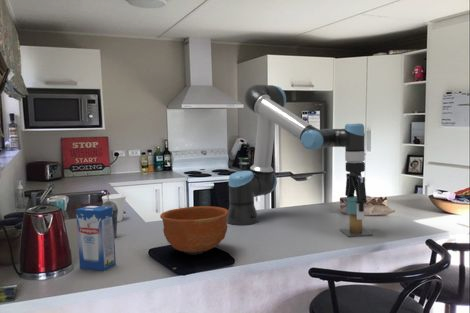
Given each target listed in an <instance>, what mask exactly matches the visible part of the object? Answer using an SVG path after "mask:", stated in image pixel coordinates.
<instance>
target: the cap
mask: <svg viewBox="0 0 470 313" xmlns="http://www.w3.org/2000/svg"><path fill="white" fill-rule="evenodd" d="M356 202H358V201H357V196H355V197H347V196H346V214H348V213H349V214H357V204H356ZM349 214H348V215H349Z"/></svg>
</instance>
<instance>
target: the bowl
mask: <svg viewBox="0 0 470 313" xmlns="http://www.w3.org/2000/svg"><path fill="white" fill-rule="evenodd" d="M228 210H229V209H227V208H225V207H220V206H211V205H210V206H209V205H208V206H205V205H201V206H200V205H199V206H186V207H180V208H173V209H169V210H166V211H164V212H162V213H161V214H160V215H159V217H160V219H162V224H163V231H162V232H163V234H164V237H165V239H166V241H167V243H169V244H170V245H171V247H173V249H174V250H177V251H179V252H184V253H185V252H189V253H197V252H202V251H206V252H207V251H209V250H211V249H214V248H215V247H217V246H218V245H219V244H220V243H221V242H222V240H224V239H225V237H226V234H227V232H228V223H227V216H228V214H229V211H228Z"/></svg>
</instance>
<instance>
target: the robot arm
mask: <svg viewBox="0 0 470 313" xmlns="http://www.w3.org/2000/svg"><path fill="white" fill-rule="evenodd" d="M286 96H287V95H286V92H285V91H284V89H282V88H281V87H280V86H276V85H271V84H270V85H269V84H267V85H266V84H254V85H253V84H252V85H251V86H249V87H248V88H247V90H245V93H244V98H243V99H244V103H245V105H246V106H247V108H248V109H249V110H250V111H252V112H253V113H255V114H256V115H257V117H258V118H257V126H256V127H257V128H256V139H255V148H254V157H253V158H254V159H253V164H252V165H251V166H250V167H249V168H250V169H249V170H243V171H241V170H240V171H236V172H233V173H231V174H230V175H229V177H228V193H229V194H228V196H229V206H228V207H229V208H228V209H227V210H228V211H229V214H228V216H227V224H229V225H236V226H246V225H253V224H256V223H258V222H259V215H258V213H257V209H256V206H255V198H256V197H260V196H266V195H269V194H270V193H272V192H274V191H275V189H276V188H277V184H278V183H277V182H278V179H277V176H276V174H275V173H274V168H273V167H272V159H273V152H274V151H273V150H274V143H275V142H274V140H275V133H276V132H275V131H276V125H277V126H278V127H280V128H281V129H283V130H284V131H286V132H288V133H289V134H290V135H292V136H293V137H295V138H297V139H298V140H300V141H301V145H302V146H303V147H304V148H305V149H306V150H313V151H314V150H318V149H327V148H344V149H345V152H344V156H345V157H344V158H345V160H344V161H345V172H348V173H346V182H345V196H346V198H347V197H357V201H358V202H356V204H357V220H359V219H362V220H365V204H366V203H367V191H366V177H365V176H362V173H363V172H365V171H366V163H365V159H366V158H365V157H366V155H367V154H366V153H365V150H366V149H365V145H366V144H365V139H366V133H365V132H366V131H365V125H364V124H363V123H345V125H344V128H322V129H319V128H317V127H315V126H313V125H312V124H311V123H308V122H307V121H305V120H304V119H303V118H301V117H299V116H297V115H296V114H294V113H293V112H292V111H290V110H289V109H287V108H285V106H286V103H287V97H286ZM355 195H356V196H355ZM347 215H349V213H347Z"/></svg>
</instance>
